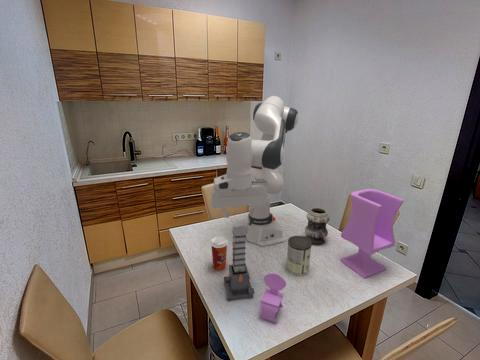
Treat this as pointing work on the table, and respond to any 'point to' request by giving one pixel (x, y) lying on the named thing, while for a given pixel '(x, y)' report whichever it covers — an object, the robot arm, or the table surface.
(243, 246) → the column
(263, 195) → the robot arm
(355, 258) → the purple pedestal armchair
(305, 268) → the coffee can
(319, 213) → the apothecary jar
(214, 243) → the paper cup
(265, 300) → the toy chair
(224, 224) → the table surface
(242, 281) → the stand
